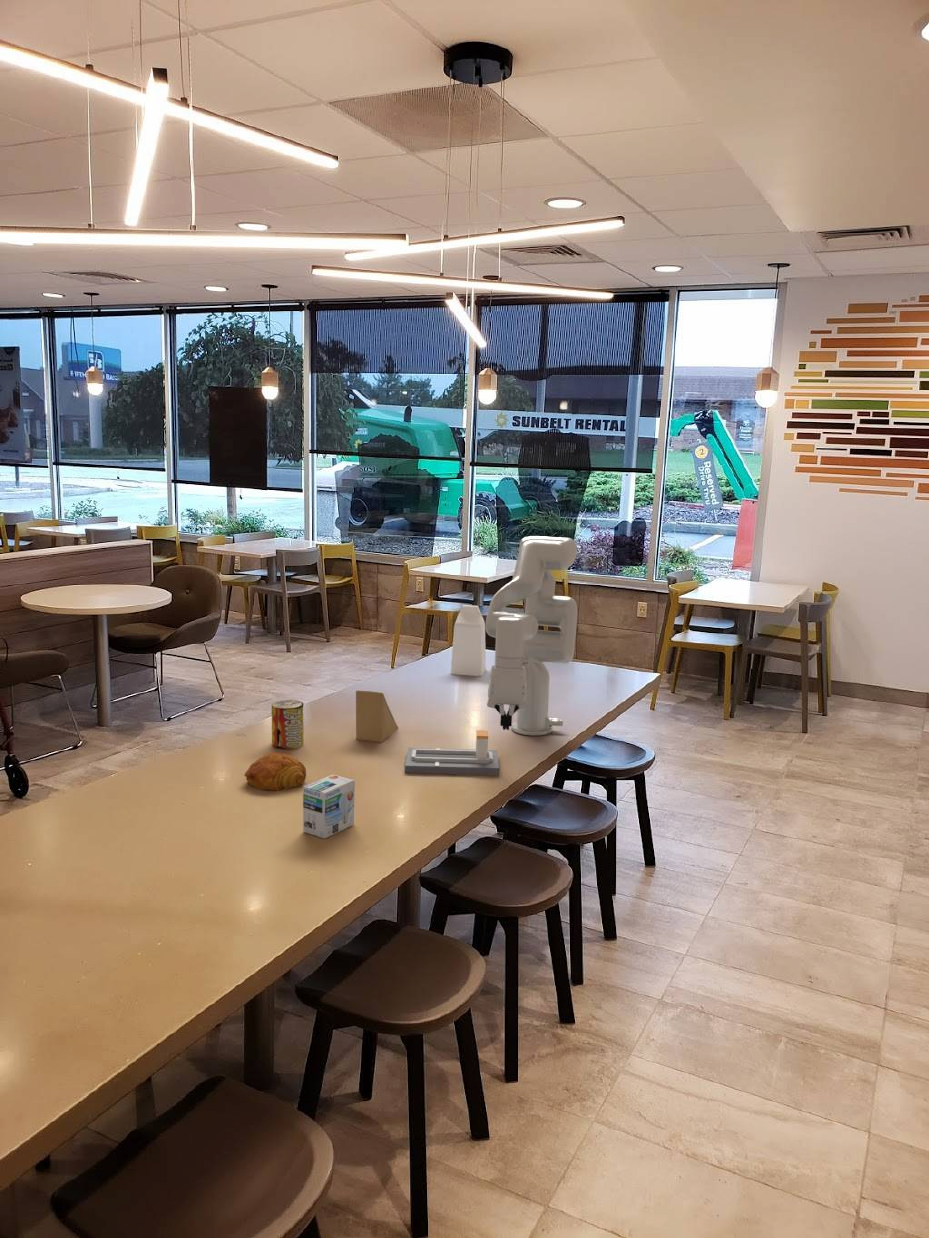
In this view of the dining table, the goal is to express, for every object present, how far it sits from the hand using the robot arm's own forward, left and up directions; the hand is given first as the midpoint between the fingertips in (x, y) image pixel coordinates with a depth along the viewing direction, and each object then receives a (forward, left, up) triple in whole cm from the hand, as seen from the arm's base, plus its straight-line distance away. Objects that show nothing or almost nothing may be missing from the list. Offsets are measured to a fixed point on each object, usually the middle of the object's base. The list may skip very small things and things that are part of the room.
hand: (505, 728), depth 253 cm
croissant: (+60, +16, -11) cm, 63 cm away
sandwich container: (+37, -28, -11) cm, 48 cm away
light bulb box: (+42, +44, -11) cm, 62 cm away
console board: (+14, -1, -11) cm, 18 cm away
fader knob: (+6, -1, -9) cm, 11 cm away
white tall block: (+9, -110, -11) cm, 111 cm away
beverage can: (+62, -15, -11) cm, 64 cm away
